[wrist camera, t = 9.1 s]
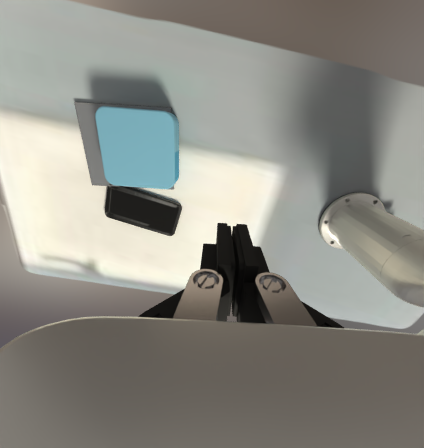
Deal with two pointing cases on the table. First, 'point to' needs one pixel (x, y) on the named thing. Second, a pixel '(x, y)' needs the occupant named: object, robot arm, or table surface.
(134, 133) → the data package
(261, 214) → the table surface
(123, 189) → the phone
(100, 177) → the mat
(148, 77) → the table surface
